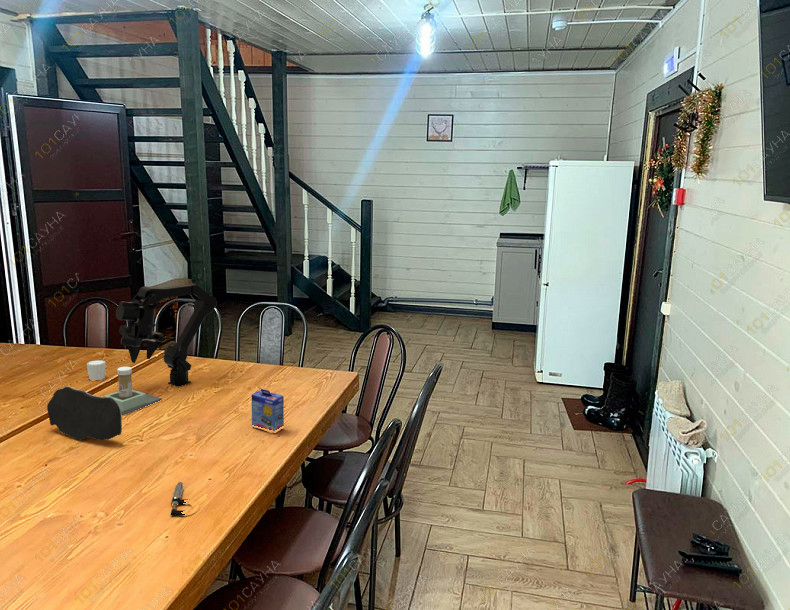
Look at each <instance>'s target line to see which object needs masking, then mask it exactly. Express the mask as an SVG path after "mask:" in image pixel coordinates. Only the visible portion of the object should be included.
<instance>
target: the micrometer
mask: <svg viewBox="0 0 790 610" xmlns="http://www.w3.org/2000/svg"><path fill="white" fill-rule="evenodd" d="M183 484H184V483H183V482H182V481H178V482H177V484H176V485H175V487H174V491H173V495H172V498H171V502H170V506H172V504H173V506H172V509H171V510H170V511H171V512H170V516H171V515H174V516H176V515H185V514H182V513H181V512H183V511H184V510H180V509H179V510H177V507H178V506H177V504H183V503H186V502H184V500H188V499H185V498H184V499H181V498H182V496H183V491H184V488H183V487H184V485H183ZM181 495H182V496H181Z"/></svg>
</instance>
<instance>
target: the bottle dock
mask: <svg viewBox="0 0 790 610" xmlns="http://www.w3.org/2000/svg"><path fill="white" fill-rule="evenodd" d="M103 397H112V398H113V399H115V400H116V401H117V403H118V404H119V406H120V409H121V413H122V416H125V414H126V415H128V413H129V414H131V413H133V411H134V412H136V411H135V410H137V411H139V410H141V409H140V408H142V409H144V408H143V407H145V406H148V405H150V404H153V403H155V402H158V401H160V400H162V397H159V396H155V395H151V394H150V393H149V394H148V393H145V392H143V391H139V390H138V391H137V390H134V389H132V397H131V398H128V399H125V400H120V399H119V390H118V391H115V392H112V393H109V394H106V395H103ZM162 401H163V400H162ZM158 403H159V402H158ZM153 405H154V404H153ZM150 406H151V405H150ZM148 407H149V406H148ZM145 408H146V407H145ZM138 409H139V410H138Z"/></svg>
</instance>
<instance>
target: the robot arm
mask: <svg viewBox="0 0 790 610" xmlns="http://www.w3.org/2000/svg"><path fill="white" fill-rule="evenodd" d="M183 296H191V298H192V299H193V300H194V303H193V312H192V314H191V316H190V317H189V319H188V322H187V323H186V325H185V326H184V329H183V330H182V332H181V334H180V335H179V338H178V339H177V341H176V342H175V343H174V344H173V345H170V344H169V345H168V346H167V348H166V349H165V351H164V353H163V362H164V364H165V365H166V366H167V367H168V368H169V369H170V370H169V371H170V373H169V381H168V383H167V384H168V385H170V384H171V386H174V385H175V386H174V387H177V386H180V387H182V385H183V386H185V384H186V385H189V384H191V383H192V381H191V380H189V371H190V370H191V368H192V364H191V363H190V362H189V361H187V359H188V351H189V347H190V345H191V343H192V341H193V339H195V337H196V334H197V333H198V330H199V329H200V326H201V325H202V324H203V322H204V319H205V318H206V317H207V316H208V315H210V314H211V313H212V312H213V310H215V308H216V307H217V304H218V301H217V298H216V297H215V295H211V294H210V293H209V292H207V291H205V290H204V289H202V288H201V287H200V286H199V285H198V284H195V283H188V284H178V285H172V286H163V287H159V286H145V285H144V286H142V287H140V288H139V289H138V292H137V294H136V295H135V296H134V297H133V298H132V299H131V300H130V301H125V300H124V301H119V305H118V306H117V307H116V309H115V316H116V319H117V320H118V321H135V322H133V325H132V326H129V325H127V324H124V325H120V326H119V330H118V332H119V334H120V335H122V337H121V339H120V344H121V345H123V346H124V347H126V348H127V350H128V353H129V355H130V361H131V363H132V364H135V363H136V361H137V359H138V357H139V354H140V352H141V349H142V344H143V342H144V343H145V344H146V360H150V359H151V358H152V357H153V355H154V353H155V352H156V350H157V349H158V348H159V346H160V344H162V342H163V341H165V335H164V333H163V332H156V331H153V330H154V327H156V324H157V323H156V322H155V312H156V310H161V309H162V307H161V306H160V305H159V304H158V303H159V302H162V301H164V300H165V299H170V298H176V297H183ZM154 322H155V323H154ZM188 383H189V384H188Z"/></svg>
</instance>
